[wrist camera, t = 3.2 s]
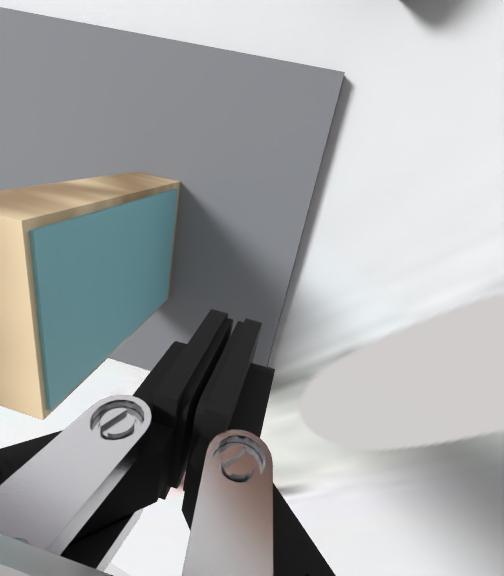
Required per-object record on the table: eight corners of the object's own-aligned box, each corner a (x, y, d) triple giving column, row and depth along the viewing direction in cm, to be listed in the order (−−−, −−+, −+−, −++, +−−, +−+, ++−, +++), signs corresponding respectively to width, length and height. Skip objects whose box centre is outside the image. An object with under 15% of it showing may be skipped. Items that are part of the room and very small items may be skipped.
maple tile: (183, 182, 17) (26, 222, 8) (171, 298, 20) (47, 421, 11) (137, 171, 18) (-62, 198, 9) (133, 288, 21) (-18, 399, 12)
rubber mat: (344, 74, 15) (344, 72, 14) (258, 397, 23) (256, 403, 22) (-115, -12, 17) (-129, -17, 17) (-45, 304, 25) (-53, 308, 25)
